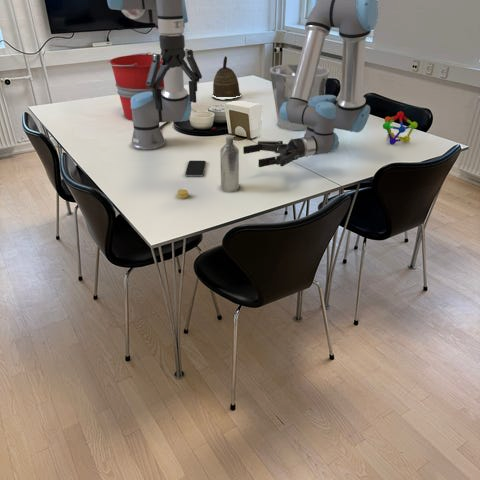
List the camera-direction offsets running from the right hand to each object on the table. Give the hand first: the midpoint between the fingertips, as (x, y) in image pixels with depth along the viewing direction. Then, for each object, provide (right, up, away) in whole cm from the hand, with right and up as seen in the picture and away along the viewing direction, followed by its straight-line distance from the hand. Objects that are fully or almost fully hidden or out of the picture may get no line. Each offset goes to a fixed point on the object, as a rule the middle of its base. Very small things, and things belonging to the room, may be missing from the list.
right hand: (250, 156), depth 164 cm
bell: (-13, +60, +117) cm, 132 cm away
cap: (-25, -14, -3) cm, 29 cm away
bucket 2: (+25, +30, +69) cm, 80 cm away
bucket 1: (-56, +40, +84) cm, 109 cm away
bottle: (-8, -11, +4) cm, 14 cm away
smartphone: (-22, -2, +19) cm, 29 cm away
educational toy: (+70, +15, +47) cm, 86 cm away
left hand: (-25, +13, -20) cm, 34 cm away
